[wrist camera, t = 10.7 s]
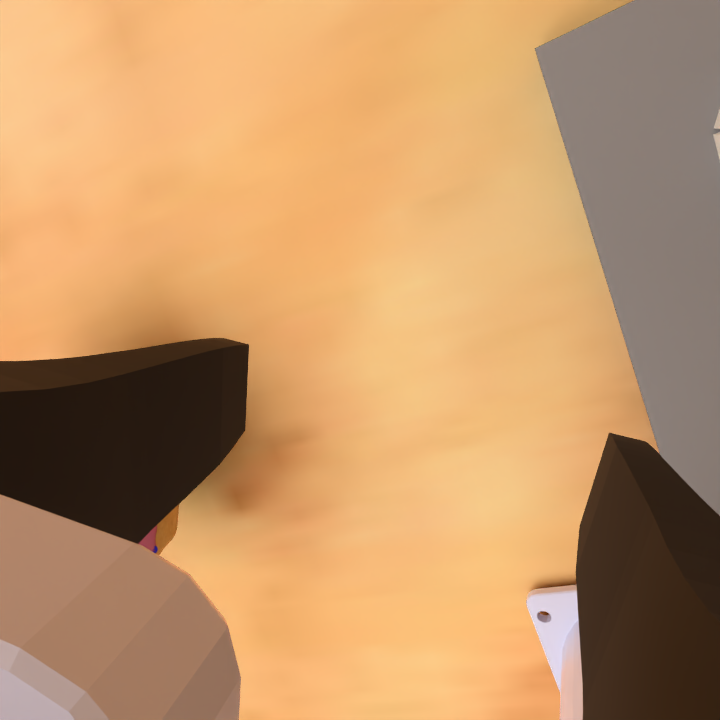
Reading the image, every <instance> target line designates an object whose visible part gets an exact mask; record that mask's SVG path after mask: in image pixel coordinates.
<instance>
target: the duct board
mask: <svg viewBox="0 0 720 720" xmlns="http://www.w3.org/2000/svg"><path fill="white" fill-rule="evenodd" d="M535 51H536V54H537V57H538V61H539V64H540V67H541V70H542V74H543V77H544V80H545V83H546V87H547V90H548V93H549V96H550V100H551V103H552V106H553V109H554V112H555V116H556V119H557V122H558V125H559V129H560V132H561V135H562V138H563V142H564V145H565V148H566V151H567V155H568V158H569V161H570V164H571V168H572V171H573V174H574V177H575V181H576V184H577V187H578V190H579V193H580V197H581V200H582V203H583V206H584V210H585V213H586V216H587V219H588V223H589V226H590V229H591V232H592V236H593V239H594V242H595V245H596V249H597V252H598V255H599V258H600V261H601V265H602V268H603V271H604V274H605V278H606V281H607V284H608V287H609V291H610V294H611V297H612V300H613V304H614V307H615V310H616V313H617V317H618V320H619V323H620V326H621V329H622V333H623V336H624V339H625V342H626V346H627V349H628V352H629V355H630V359H631V362H632V365H633V368H634V372H635V375H636V378H637V381H638V385H639V388H640V391H641V394H642V398H643V401H644V404H645V407H646V410H647V414H648V417H649V420H650V423H651V427H652V430H653V433H654V436H655V440H656V443H657V446H658V449H659V453H660V455H661V456H662V458H663V459H664V460H665V461H666V462H667V463H668V464H669V465H670V466H671V467H672V468H673V469H674V470H675V471H676V472H677V473H678V474H679V476H680V477H681V478H682V479H683V480H684V481H685V482H686V483H687V484H688V485H689V486H690V487H691V488H692V489H693V490H694V491H695V492H696V493H697V494H698V495H699V496H700V497H701V498H702V499H703V500H704V501H705V502H706V503H707V504H708V505H709V506H710V507H711V508H712V509H713V510H714V511H715V512H716V513H717V514H718V515H719V516H720V159H719V155H718V151H717V147H716V144H715V140H714V136H713V134H716V133H718V132H720V129H715V128H714V125H715V122H716V119H717V116H718V113H719V110H720V0H634V1H632V2H630V3H628V4H626V5H624V6H622V7H620V8H618V9H615V10H613V11H611V12H609V13H607V14H605V15H603V16H601V17H599V18H597V19H595V20H593V21H591V22H589V23H587V24H584V25H582V26H580V27H578V28H576V29H574V30H572V31H570V32H568V33H566V34H564V35H562V36H560V37H558V38H556V39H553V40H551V41H549V42H547V43H545V44H543V45H541V46H539V47H537V48H535Z"/></svg>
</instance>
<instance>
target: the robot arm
mask: <svg viewBox="0 0 720 720" xmlns="http://www.w3.org/2000/svg"><path fill="white" fill-rule="evenodd" d="M248 352H249V345H248V344H244V343H240V342H236V341H232V340H228V339H224V338H209V339H199V340H191V341H184V342H177V343H171V344H165V345H159V346H152V347H146V348H140V349H134V350H127V351H120V352H113V353H105V354H98V355H91V356H83V357H74V358H63V359H50V360H33V361H0V720H239V702H240V682H241V677H240V673H239V669H238V665H237V661H236V657H235V653H234V649H233V645H232V641H231V637H230V633H229V629H228V626H227V623H226V620H225V618H224V617H223V616H222V614H221V613H220V612H219V611H218V609H217V608H216V607H215V606H214V604H213V603H212V602H211V601H210V599H209V598H208V597H207V596H206V594H205V593H204V592H203V590H202V589H201V588H200V587H199V585H198V584H197V583H196V582H195V580H194V579H193V578H192V577H191V575H190V574H188V573H187V572H185V571H183V570H182V569H180V568H178V567H177V566H175V565H173V564H172V563H170V562H169V561H167V560H165V559H164V558H162V557H160V556H159V555H157V554H155V553H154V552H152V551H150V550H149V549H147V548H145V547H144V546H142V545H139V543H140V542H141V541H142V540H143V538H144V537H145V536H146V535H147V534H148V533H149V532H150V531H151V530H152V529H153V528H154V527H155V526H156V525H157V524H158V523H160V522H161V521H162V520H163V519H164V518H165V517H166V516H167V515H168V514H169V513H170V512H171V511H172V510H173V509H174V508H175V507H176V506H177V505H178V504H179V503H180V502H181V501H182V500H184V499H185V498H186V497H187V496H188V495H189V494H190V493H191V492H192V491H193V490H194V489H195V488H196V487H197V486H198V485H199V484H200V483H201V482H202V481H203V480H204V479H205V478H206V477H207V476H208V475H209V474H210V473H211V472H212V471H213V470H214V469H215V468H216V467H217V466H218V465H219V464H220V463H221V462H222V461H223V459H224V458H225V457H226V455H227V454H228V453H229V452H230V450H231V449H232V448H233V446H234V445H235V444H236V442H237V441H238V439H239V438H240V437H241V435H242V434H243V432H244V431H245V421H246V398H247V375H248ZM526 603H527V608H528V610H529V613H530V615H531V618H532V621H533V623H534V626H535V628H536V631H537V634H538V636H539V639H540V642H541V644H542V647H543V649H544V652H545V655H546V657H547V660H548V662H549V665H550V668H551V670H552V673H553V675H554V678H555V681H556V683H557V686H558V688H559V691H560V694H561V697H560V720H720V516H719V515H718V514H717V513H716V512H715V511H714V510H713V509H712V508H711V507H710V506H709V505H708V504H707V503H706V502H705V501H704V500H703V499H702V498H701V497H700V496H699V495H698V494H697V493H696V492H695V491H694V490H693V489H692V488H691V487H690V486H689V485H688V484H687V483H686V482H685V481H684V480H683V479H682V478H681V477H680V476H679V474H678V473H677V472H676V471H675V470H674V469H673V468H672V467H671V466H670V465H669V464H668V463H667V462H666V461H665V460H664V459H663V458H662V456H661V455H660V454H659V453H658V452H657V451H656V450H655V449H654V448H653V447H651V446H650V445H649V444H648V443H647V442H645V441H641V440H637V439H633V438H628V437H624V436H620V435H616V434H612V433H609V435H608V438H607V441H606V445H605V448H604V451H603V454H602V457H601V460H600V464H599V467H598V470H597V473H596V476H595V480H594V483H593V486H592V489H591V492H590V495H589V499H588V502H587V505H586V508H585V511H584V514H583V518H582V521H581V524H580V530H579V540H578V551H577V564H576V585H568V586H559V587H549V588H539V589H534V590H531V591H530V592H529V593H528V595H527V601H526ZM541 611H545V612H547V613H549V615H543V614H541V613H539V612H541Z"/></svg>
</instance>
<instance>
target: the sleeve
mask: <svg viewBox="0 0 720 720" xmlns="http://www.w3.org/2000/svg"><path fill="white" fill-rule="evenodd" d="M714 128H715V129H720V110H719V113H718V116H717V119H716V122H715V125H714ZM713 136H714V140H715V144H716V147H717V151H718V155H719V159H720V132H718V133H716V134H713Z"/></svg>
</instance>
